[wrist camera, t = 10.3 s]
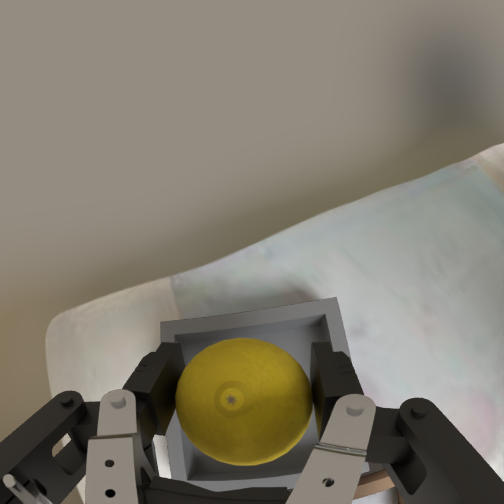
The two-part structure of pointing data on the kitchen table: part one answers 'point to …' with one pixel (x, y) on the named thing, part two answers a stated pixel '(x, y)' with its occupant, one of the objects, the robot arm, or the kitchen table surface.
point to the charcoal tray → (273, 331)
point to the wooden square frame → (373, 485)
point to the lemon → (244, 401)
